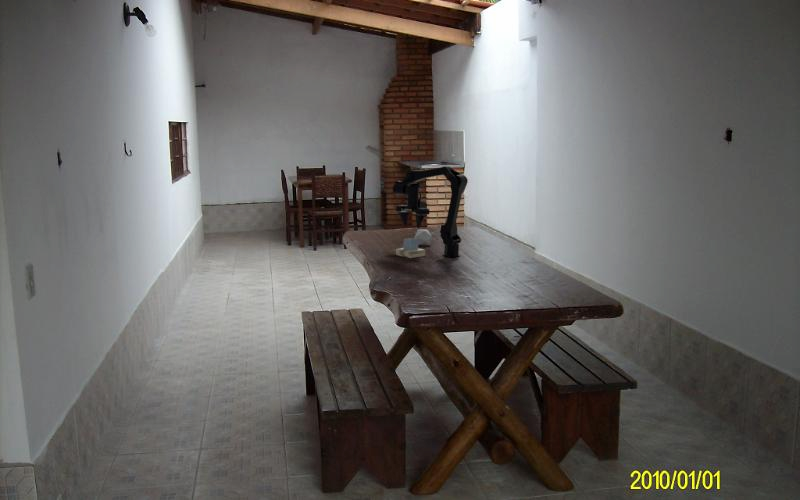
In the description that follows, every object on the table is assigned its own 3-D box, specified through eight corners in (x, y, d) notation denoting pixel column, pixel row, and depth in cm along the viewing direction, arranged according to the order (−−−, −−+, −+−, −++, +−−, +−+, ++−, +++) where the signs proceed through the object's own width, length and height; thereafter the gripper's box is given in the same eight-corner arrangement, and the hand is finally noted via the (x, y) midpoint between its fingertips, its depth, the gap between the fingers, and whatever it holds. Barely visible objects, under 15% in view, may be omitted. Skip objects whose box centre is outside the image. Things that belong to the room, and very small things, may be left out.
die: (427, 248, 378) (436, 232, 380) (413, 239, 377) (422, 223, 380) (424, 251, 386) (432, 235, 389) (409, 242, 385) (418, 226, 388)
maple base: (425, 255, 352) (425, 249, 351) (410, 258, 345) (410, 251, 344) (410, 252, 359) (411, 246, 358) (396, 254, 352) (396, 248, 351)
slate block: (418, 249, 351) (418, 239, 350) (410, 250, 348) (411, 240, 347) (411, 248, 355) (411, 237, 354) (403, 249, 351) (403, 238, 350)
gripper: (437, 196, 358) (436, 228, 361) (411, 193, 372) (410, 223, 374) (421, 197, 351) (420, 229, 353) (395, 194, 364) (394, 225, 367)
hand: (412, 227), depth 362 cm, fingers open, 9 cm apart
